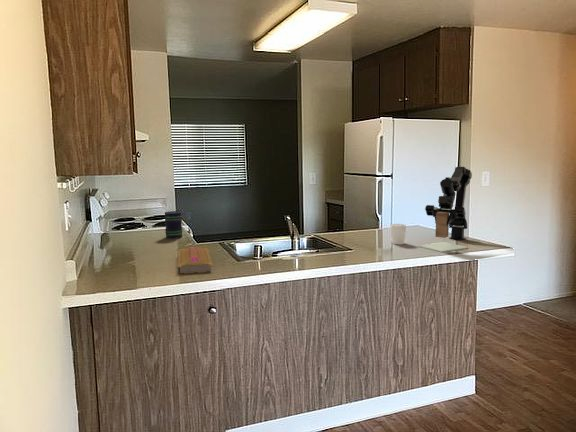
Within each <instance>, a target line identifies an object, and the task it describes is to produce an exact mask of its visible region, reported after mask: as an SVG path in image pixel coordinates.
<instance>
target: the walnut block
mask: <svg viewBox="0 0 576 432" xmlns="http://www.w3.org/2000/svg"><path fill="white" fill-rule="evenodd" d="M449 215H450V213H449V212H437V213H436V223H435V235H434V237H435V238H443V239H446V238H447V237H448V238H449V229H450V228H449V225H448V226H447V221H448V218H449Z"/></svg>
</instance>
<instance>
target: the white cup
mask: <svg viewBox="0 0 576 432" xmlns="http://www.w3.org/2000/svg"><path fill="white" fill-rule="evenodd" d="M406 229H407V225H406V224H403V223H392V224H390V238H391V241H390V242H391V244H392V245H404V244H405V240H406V231H407V230H406Z"/></svg>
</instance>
